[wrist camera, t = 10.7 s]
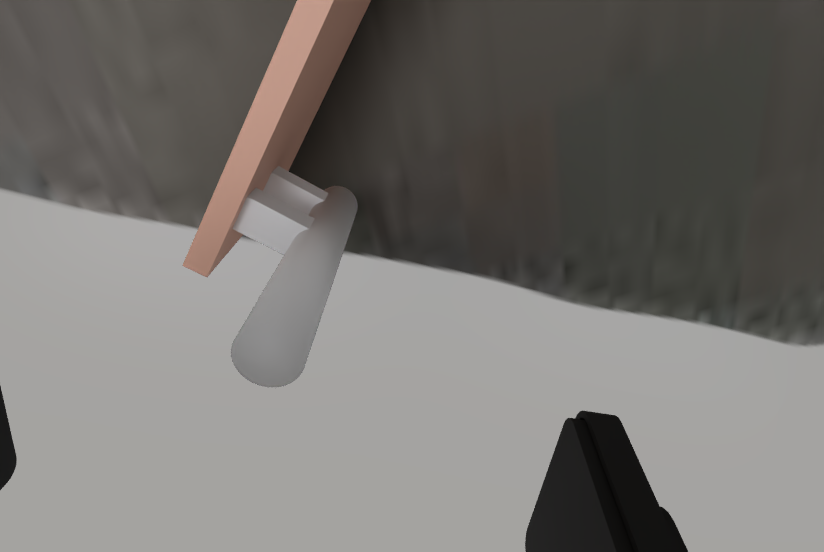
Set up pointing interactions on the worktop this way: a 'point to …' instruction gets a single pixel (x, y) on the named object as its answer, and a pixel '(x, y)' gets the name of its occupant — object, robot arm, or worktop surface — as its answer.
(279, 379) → the door
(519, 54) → the worktop surface
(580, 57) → the worktop surface
